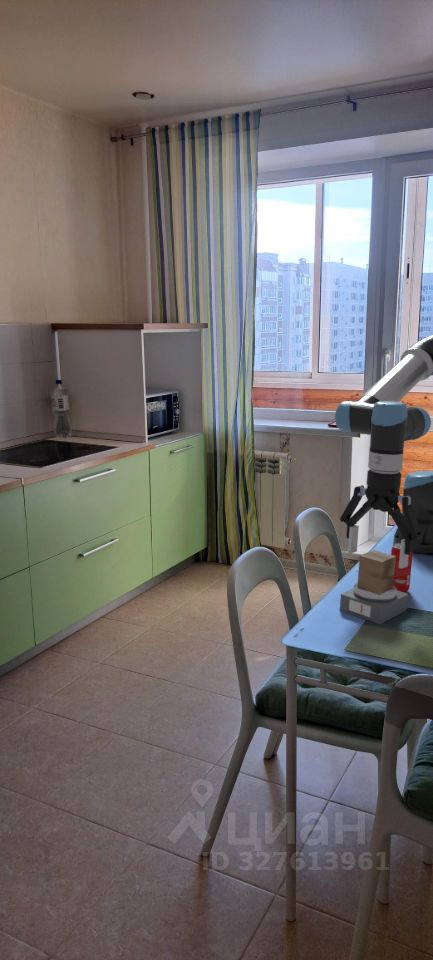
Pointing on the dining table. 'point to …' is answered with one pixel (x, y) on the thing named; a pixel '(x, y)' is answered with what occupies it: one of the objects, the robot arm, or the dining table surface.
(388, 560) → the walnut block
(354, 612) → the scale base
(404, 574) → the beverage can
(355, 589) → the scale pan
